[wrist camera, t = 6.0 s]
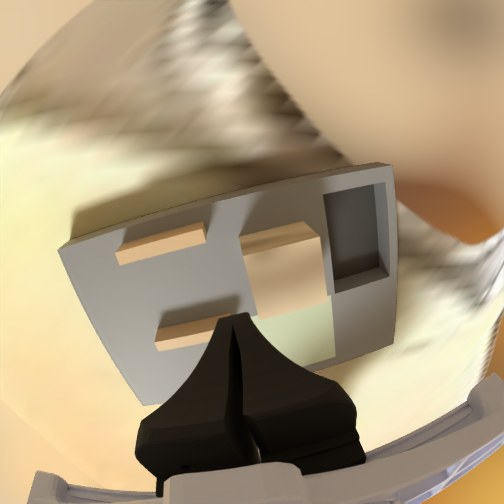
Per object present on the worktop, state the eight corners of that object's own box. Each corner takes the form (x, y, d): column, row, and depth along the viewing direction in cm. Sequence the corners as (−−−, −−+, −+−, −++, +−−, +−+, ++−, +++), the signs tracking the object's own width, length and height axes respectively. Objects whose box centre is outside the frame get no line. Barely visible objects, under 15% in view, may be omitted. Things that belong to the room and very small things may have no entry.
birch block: (312, 278, 19) (327, 301, 16) (252, 294, 19) (259, 320, 16) (303, 221, 18) (319, 236, 15) (238, 237, 17) (243, 256, 15)
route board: (383, 330, 24) (401, 353, 21) (145, 390, 24) (140, 418, 20) (377, 162, 19) (405, 167, 15) (69, 240, 18) (47, 258, 15)
